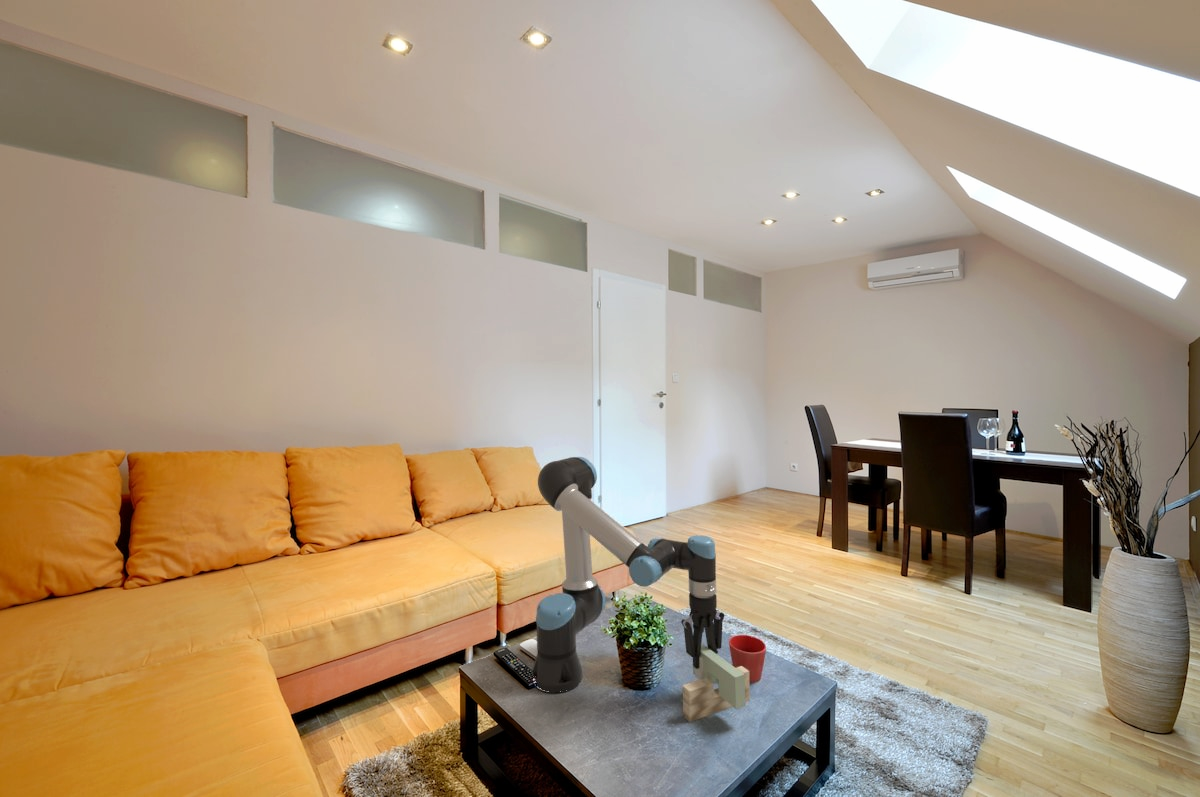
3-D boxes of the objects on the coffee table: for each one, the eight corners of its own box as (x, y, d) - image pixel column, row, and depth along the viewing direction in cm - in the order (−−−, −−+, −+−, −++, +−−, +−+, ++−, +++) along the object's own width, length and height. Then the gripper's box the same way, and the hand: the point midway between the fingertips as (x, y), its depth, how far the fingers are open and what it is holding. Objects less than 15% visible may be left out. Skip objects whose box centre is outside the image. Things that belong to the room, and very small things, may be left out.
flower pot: (761, 665, 150) (761, 634, 150) (770, 687, 139) (770, 653, 139) (726, 664, 151) (726, 633, 151) (732, 685, 140) (732, 652, 140)
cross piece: (745, 705, 122) (744, 674, 122) (736, 709, 121) (735, 677, 121) (701, 670, 139) (700, 642, 139) (693, 673, 137) (692, 645, 137)
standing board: (690, 722, 124) (689, 691, 124) (683, 715, 127) (682, 685, 127) (749, 700, 133) (749, 671, 133) (742, 694, 136) (741, 665, 136)
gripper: (686, 604, 128) (688, 692, 128) (734, 592, 135) (736, 675, 135) (670, 593, 135) (672, 677, 135) (717, 583, 142) (718, 662, 142)
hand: (704, 676), depth 135 cm, fingers closed on cross piece, 3 cm apart
